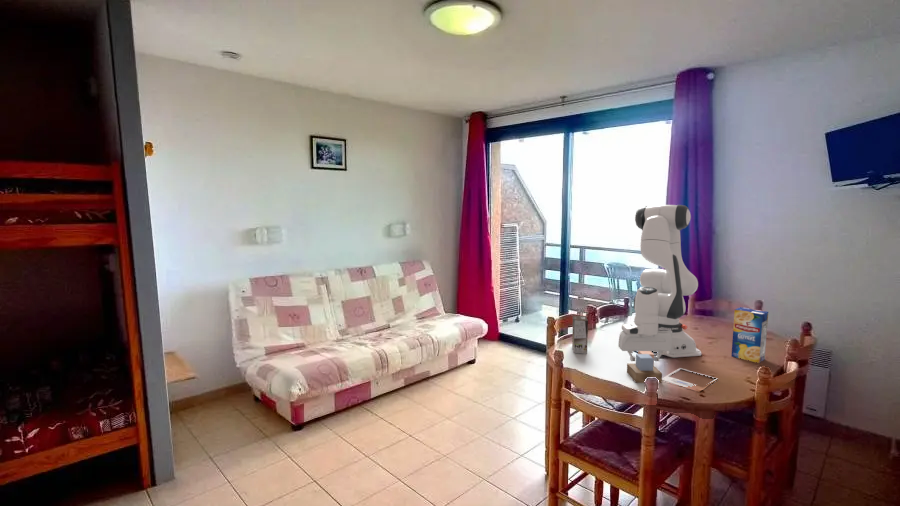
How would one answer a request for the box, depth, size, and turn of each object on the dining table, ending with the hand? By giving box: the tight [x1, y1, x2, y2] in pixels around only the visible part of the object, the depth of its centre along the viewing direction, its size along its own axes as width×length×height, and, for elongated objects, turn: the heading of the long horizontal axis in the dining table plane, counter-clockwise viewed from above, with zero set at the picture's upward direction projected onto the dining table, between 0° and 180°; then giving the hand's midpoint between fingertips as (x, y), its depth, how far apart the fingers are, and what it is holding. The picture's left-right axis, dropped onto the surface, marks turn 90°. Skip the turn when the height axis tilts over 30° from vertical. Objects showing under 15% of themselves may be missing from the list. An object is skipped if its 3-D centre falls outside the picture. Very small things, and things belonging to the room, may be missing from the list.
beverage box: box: [731, 306, 769, 364], centre depth 193 cm, size 7×11×22 cm, turn 37°
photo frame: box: [662, 367, 719, 388], centre depth 172 cm, size 15×1×18 cm
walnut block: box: [626, 362, 663, 384], centre depth 174 cm, size 10×10×4 cm
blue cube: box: [635, 353, 655, 371], centre depth 174 cm, size 5×5×5 cm
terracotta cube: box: [637, 351, 655, 366], centre depth 190 cm, size 5×5×5 cm
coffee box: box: [571, 315, 589, 355], centre depth 206 cm, size 9×6×16 cm
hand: (644, 360), depth 174 cm, fingers open, 8 cm apart
